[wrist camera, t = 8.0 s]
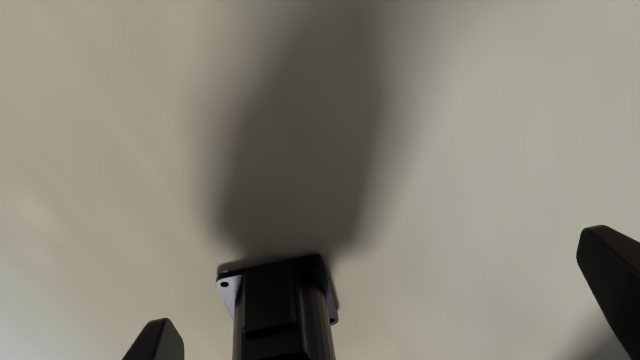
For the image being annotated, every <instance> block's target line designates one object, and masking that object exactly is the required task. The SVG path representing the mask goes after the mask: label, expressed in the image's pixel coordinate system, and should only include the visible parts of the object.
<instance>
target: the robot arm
mask: <svg viewBox="0 0 640 360" xmlns="http://www.w3.org/2000/svg"><path fill="white" fill-rule="evenodd" d="M576 259H577V263H578V265H579V267H580V269H581V271H582V273H583V275H584V277H585V279H586V281H587V283H588V285H589V287H590V289H591V291H592V293H593V295H594V297H595V298H596V300H597V302H598V304H599V306H600V308H601V310H602V312H603V314H604V316H605V318H606V320H607V322H608V323H609V325H610V327H611V329H612V330H613V332H614V334H615V335H616V337H617V338H618V340H619V341H620V343H621V344H622V346H623V347H624V349H625V351H626V352H627V354H628V355H629V357H630V358H631V360H640V242H638V241H636V240H634V239H632V238H630V237H628V236H626V235H624V234H622V233H620V232H618V231H616V230H614V229H612V228H610V227H608V226H605V225H597V226H592V227H587V228H584V229H583V230H582V232H581V235H580V240H579V244H578V249H577V253H576ZM313 262H317V263H313ZM216 287H217V289H218V291H219V293H220V295H221V297H222V299H223V301H224V303H225V305H226V307H227V309H228V311H229V313H230V315H231V317H232V319H233V321H234V329H233V354H232V360H336V358H335V352H334V346H333V339H332V333H331V327H330V325H334V324H336V323H337V322H338V320H339V319H338V313H337V310H336V306H335V302H334V298H333V294H332V290H331V287H330V283H329V279H328V275H327V271H326V267H325V264H324V260H323V257H322V256H321V255H319V254H312V255H307V256H303V257H298V258H293V259H289V260H284V261H280V262H275V263H270V264H266V265H261V266H256V267H252V268H247V269H242V270H238V271H233V272H228V273H224V274H221V275H219V276H218V277H217V279H216ZM122 360H184V344H183V340H182V338H181V336H180V335H179V333H178V332H177V330H176V328H175V327H174V325H173V324H172V322H171V321H170V319H168V318H162V319H157V320H152V321H150V322H148V323H147V324H146V326H145V327H144V328H143V330H142V331H141V333H140V334H139V336H138V337H137V339H136V340H135V341H134V343H133V344H132V346H131V347H130V349H129V350H128V352H127V353H126V354H125V356H124V357H123V359H122Z"/></svg>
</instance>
